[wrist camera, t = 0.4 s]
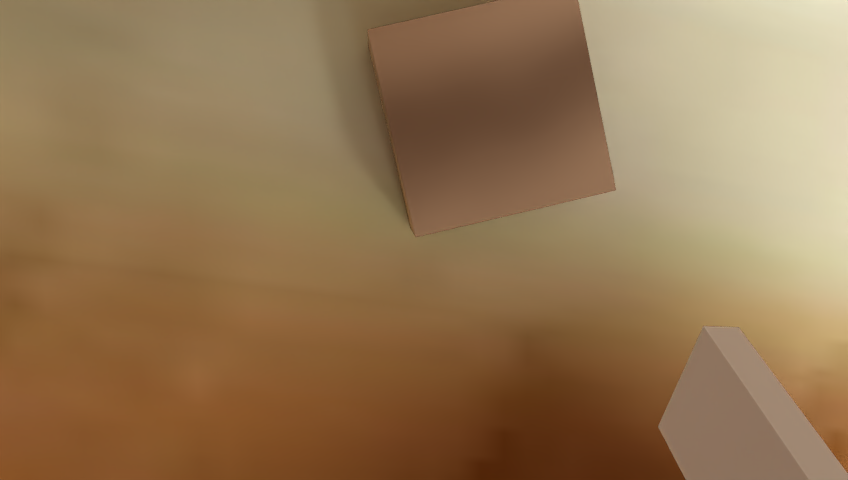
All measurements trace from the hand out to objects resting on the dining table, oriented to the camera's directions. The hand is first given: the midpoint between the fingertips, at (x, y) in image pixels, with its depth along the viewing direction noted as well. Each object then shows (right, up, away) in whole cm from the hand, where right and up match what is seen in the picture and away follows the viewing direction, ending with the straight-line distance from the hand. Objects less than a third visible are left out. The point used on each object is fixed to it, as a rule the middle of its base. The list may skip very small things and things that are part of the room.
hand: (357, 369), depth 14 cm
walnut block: (+3, +7, +15) cm, 17 cm away
